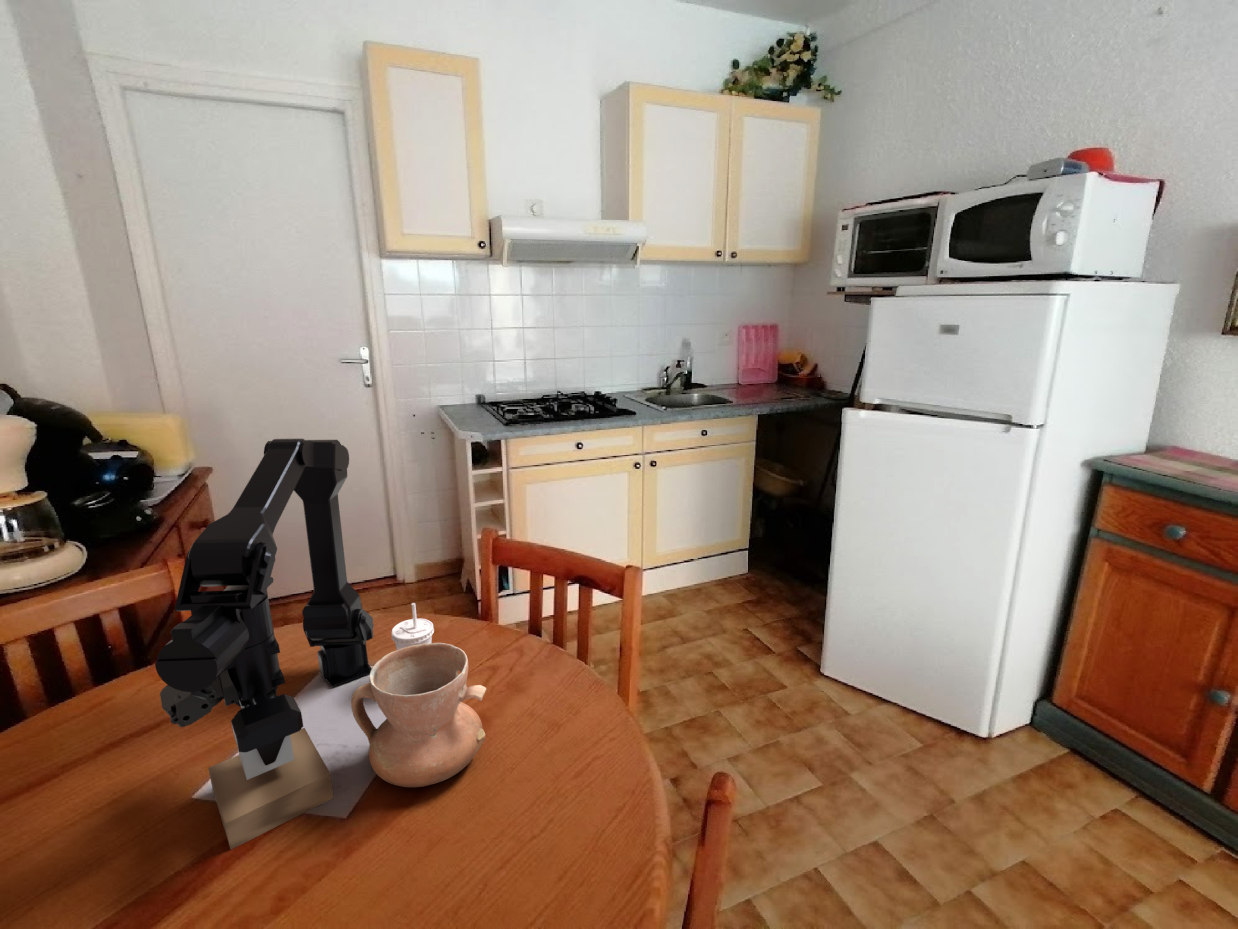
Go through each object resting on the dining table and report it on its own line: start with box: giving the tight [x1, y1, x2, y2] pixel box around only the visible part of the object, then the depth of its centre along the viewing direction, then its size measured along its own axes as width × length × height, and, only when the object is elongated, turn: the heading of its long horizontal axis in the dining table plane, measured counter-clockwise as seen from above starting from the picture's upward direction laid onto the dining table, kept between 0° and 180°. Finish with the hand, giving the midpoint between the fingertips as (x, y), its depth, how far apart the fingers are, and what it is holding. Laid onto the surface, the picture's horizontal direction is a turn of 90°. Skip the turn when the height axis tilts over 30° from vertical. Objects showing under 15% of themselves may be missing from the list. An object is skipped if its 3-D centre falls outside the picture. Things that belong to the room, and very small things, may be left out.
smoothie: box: [391, 602, 435, 650], centre depth 95 cm, size 6×6×14 cm
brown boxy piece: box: [208, 727, 335, 850], centre depth 74 cm, size 11×11×4 cm
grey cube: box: [237, 735, 294, 780], centre depth 72 cm, size 5×5×5 cm
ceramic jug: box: [350, 642, 487, 788], centre depth 79 cm, size 18×14×14 cm
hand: (265, 750), depth 73 cm, fingers closed on grey cube, 5 cm apart
